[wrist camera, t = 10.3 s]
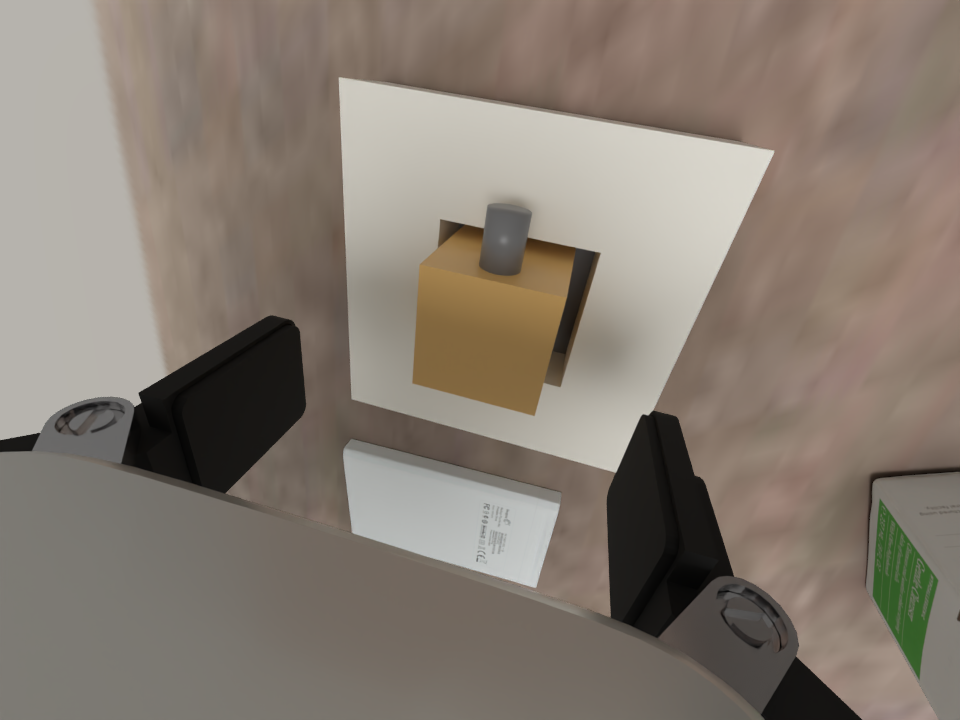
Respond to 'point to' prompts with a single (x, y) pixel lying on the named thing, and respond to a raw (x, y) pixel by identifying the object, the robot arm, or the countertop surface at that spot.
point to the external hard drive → (450, 511)
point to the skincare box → (920, 578)
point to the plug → (491, 311)
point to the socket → (555, 218)
